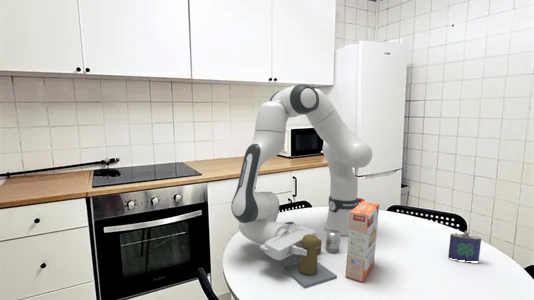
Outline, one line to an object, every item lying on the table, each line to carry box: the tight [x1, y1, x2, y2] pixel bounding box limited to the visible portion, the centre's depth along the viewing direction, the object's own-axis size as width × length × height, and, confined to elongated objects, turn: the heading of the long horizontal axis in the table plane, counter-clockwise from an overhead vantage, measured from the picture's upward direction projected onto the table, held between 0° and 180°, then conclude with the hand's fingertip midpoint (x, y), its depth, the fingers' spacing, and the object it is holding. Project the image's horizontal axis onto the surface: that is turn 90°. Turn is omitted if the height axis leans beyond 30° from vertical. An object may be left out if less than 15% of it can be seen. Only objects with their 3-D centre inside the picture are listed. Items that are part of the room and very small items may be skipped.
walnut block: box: [317, 238, 323, 256], centre depth 108 cm, size 5×5×5 cm
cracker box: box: [345, 200, 380, 283], centre depth 96 cm, size 14×6×21 cm, turn 148°
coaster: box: [282, 261, 338, 289], centre depth 95 cm, size 12×12×1 cm
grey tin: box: [324, 229, 341, 255], centre depth 110 cm, size 5×5×7 cm
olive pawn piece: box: [298, 234, 320, 275], centre depth 94 cm, size 6×6×11 cm
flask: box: [447, 230, 482, 262], centre depth 104 cm, size 9×3×11 cm, turn 74°
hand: (312, 249), depth 93 cm, fingers closed on olive pawn piece, 4 cm apart
